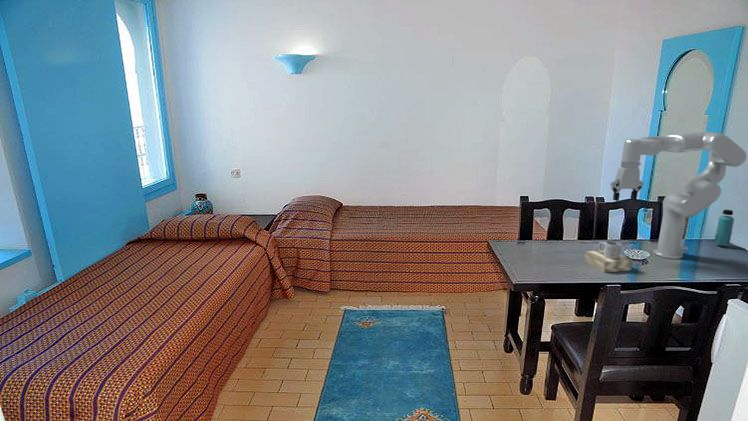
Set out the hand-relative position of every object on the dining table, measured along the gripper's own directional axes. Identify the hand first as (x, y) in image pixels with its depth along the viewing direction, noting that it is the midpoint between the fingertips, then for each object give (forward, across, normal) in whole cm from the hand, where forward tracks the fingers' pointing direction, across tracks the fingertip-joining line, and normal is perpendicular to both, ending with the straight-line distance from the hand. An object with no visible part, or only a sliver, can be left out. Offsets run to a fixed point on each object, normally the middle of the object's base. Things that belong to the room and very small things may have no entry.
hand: (624, 199), depth 212 cm
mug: (+24, +15, +13) cm, 31 cm away
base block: (+28, +15, +13) cm, 35 cm away
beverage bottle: (+28, -63, -1) cm, 69 cm away
